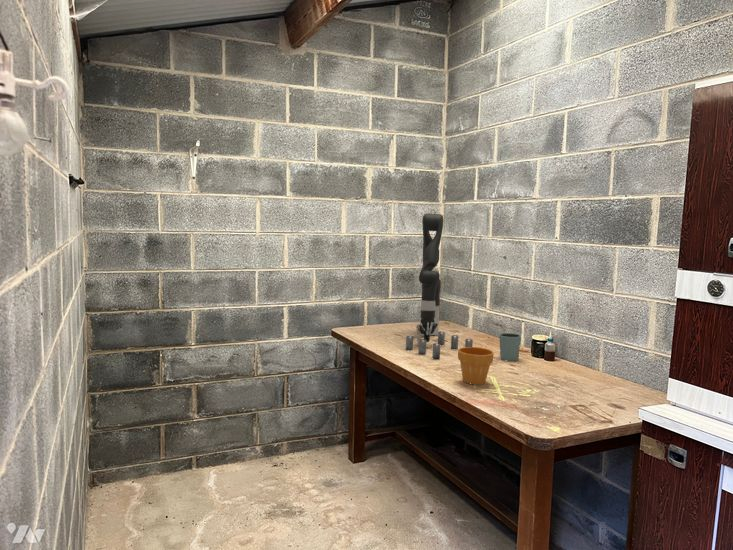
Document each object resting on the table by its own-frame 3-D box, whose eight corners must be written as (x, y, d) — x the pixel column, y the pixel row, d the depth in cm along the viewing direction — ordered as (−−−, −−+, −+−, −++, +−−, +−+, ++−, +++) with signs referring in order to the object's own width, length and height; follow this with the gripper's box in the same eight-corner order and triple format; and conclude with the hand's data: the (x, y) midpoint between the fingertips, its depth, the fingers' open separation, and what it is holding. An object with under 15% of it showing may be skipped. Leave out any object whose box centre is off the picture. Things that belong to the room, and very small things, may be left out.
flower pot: (498, 382, 216) (499, 351, 215) (481, 389, 206) (483, 357, 204) (467, 374, 225) (469, 345, 224) (450, 381, 215) (451, 350, 213)
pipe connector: (428, 344, 282) (426, 325, 282) (429, 346, 272) (428, 326, 272) (409, 345, 282) (408, 326, 282) (410, 347, 272) (409, 328, 272)
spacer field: (404, 349, 268) (404, 335, 268) (441, 344, 283) (441, 331, 282) (435, 359, 249) (436, 345, 248) (473, 353, 264) (474, 339, 263)
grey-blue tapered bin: (523, 361, 252) (525, 336, 250) (505, 362, 248) (506, 337, 247) (511, 356, 261) (513, 332, 260) (493, 357, 258) (495, 333, 257)
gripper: (432, 307, 279) (431, 339, 280) (413, 308, 271) (412, 341, 272) (442, 309, 273) (441, 342, 274) (423, 310, 265) (421, 344, 266)
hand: (426, 341), depth 273 cm, fingers closed
